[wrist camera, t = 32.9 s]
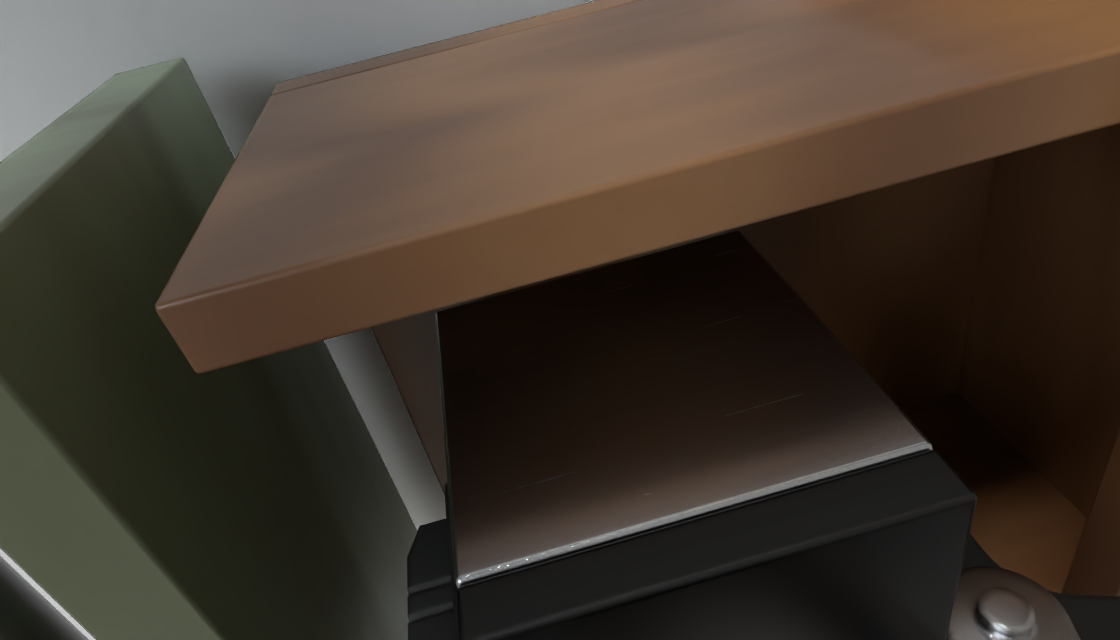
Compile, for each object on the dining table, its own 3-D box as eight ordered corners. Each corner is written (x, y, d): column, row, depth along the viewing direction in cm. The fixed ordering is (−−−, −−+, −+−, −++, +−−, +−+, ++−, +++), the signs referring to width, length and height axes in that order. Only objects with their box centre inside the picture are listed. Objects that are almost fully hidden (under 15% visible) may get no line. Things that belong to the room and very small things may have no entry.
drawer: (205, 612, 19) (106, 991, 13) (-188, 150, 12) (-918, 515, 5) (951, 399, 20) (1209, 654, 14) (1041, -162, 12) (1718, -180, 6)
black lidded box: (541, 609, 14) (603, 929, 10) (433, 310, 10) (458, 649, 6) (757, 546, 14) (905, 833, 10) (739, 227, 10) (982, 494, 6)
